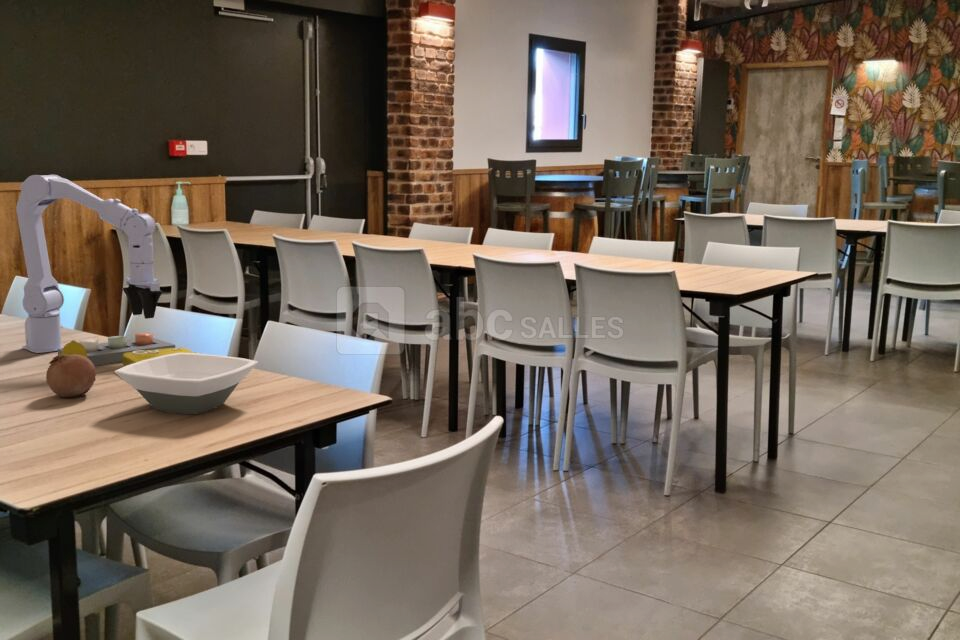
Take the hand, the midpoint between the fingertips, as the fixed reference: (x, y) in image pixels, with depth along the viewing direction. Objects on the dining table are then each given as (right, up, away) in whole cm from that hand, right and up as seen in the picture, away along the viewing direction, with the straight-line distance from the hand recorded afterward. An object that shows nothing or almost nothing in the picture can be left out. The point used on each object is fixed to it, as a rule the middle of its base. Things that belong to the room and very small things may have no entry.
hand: (143, 316), depth 240 cm
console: (-5, -10, -3) cm, 12 cm away
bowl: (+26, -19, -48) cm, 57 cm away
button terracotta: (0, -7, +1) cm, 7 cm away
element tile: (+11, -14, -18) cm, 25 cm away
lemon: (-7, -14, -24) cm, 28 cm away
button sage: (-5, -8, -4) cm, 10 cm away
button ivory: (-10, -9, -9) cm, 16 cm away
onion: (0, -17, -42) cm, 45 cm away
